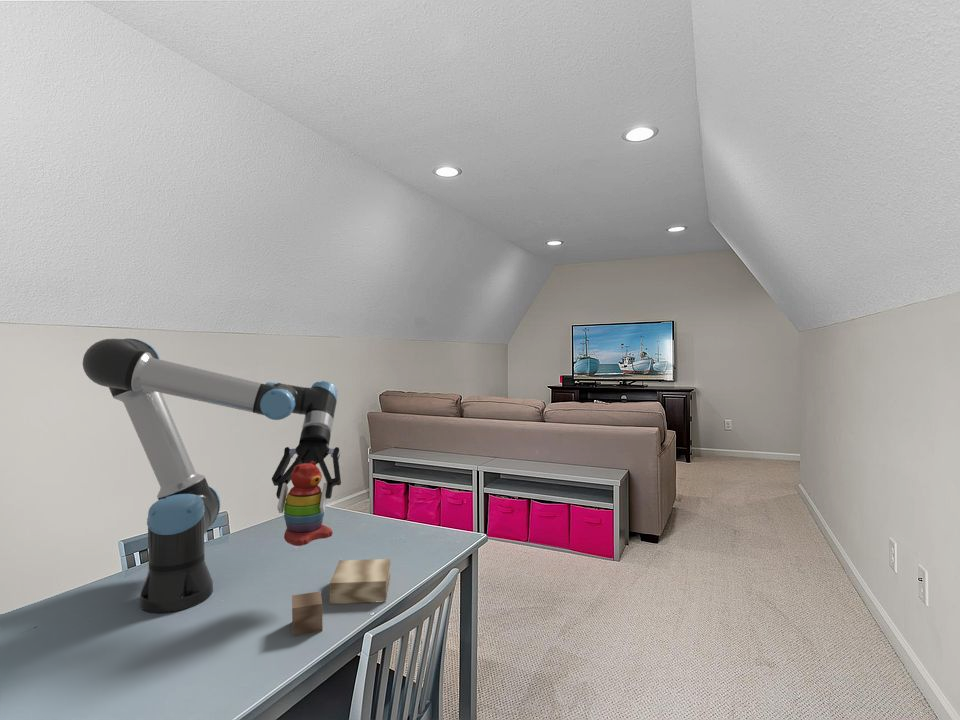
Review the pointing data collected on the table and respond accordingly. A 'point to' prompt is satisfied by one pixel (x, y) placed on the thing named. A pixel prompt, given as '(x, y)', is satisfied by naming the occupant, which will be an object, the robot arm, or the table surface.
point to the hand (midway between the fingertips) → (301, 510)
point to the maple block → (360, 581)
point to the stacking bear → (304, 507)
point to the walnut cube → (306, 613)
